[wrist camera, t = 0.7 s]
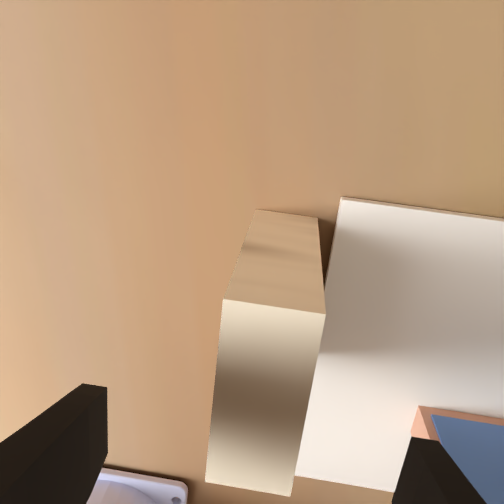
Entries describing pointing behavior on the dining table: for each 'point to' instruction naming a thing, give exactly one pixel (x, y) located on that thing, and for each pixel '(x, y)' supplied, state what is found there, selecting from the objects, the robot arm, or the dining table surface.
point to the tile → (468, 446)
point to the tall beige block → (267, 354)
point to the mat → (402, 335)
